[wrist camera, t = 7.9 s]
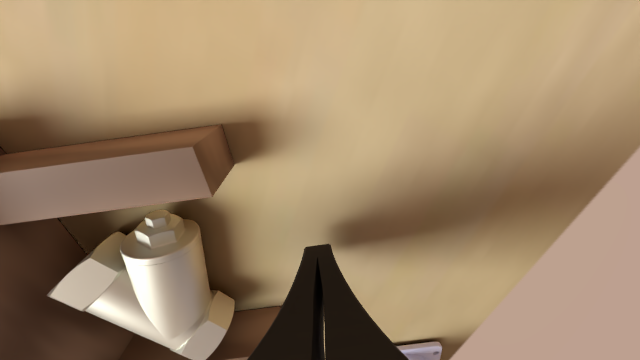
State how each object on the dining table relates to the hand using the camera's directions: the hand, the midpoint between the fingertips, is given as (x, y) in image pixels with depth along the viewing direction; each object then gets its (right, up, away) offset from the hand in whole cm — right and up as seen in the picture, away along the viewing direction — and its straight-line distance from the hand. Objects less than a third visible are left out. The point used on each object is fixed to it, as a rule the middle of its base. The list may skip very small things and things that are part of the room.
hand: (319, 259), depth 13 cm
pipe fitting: (-8, 0, +2) cm, 8 cm away
